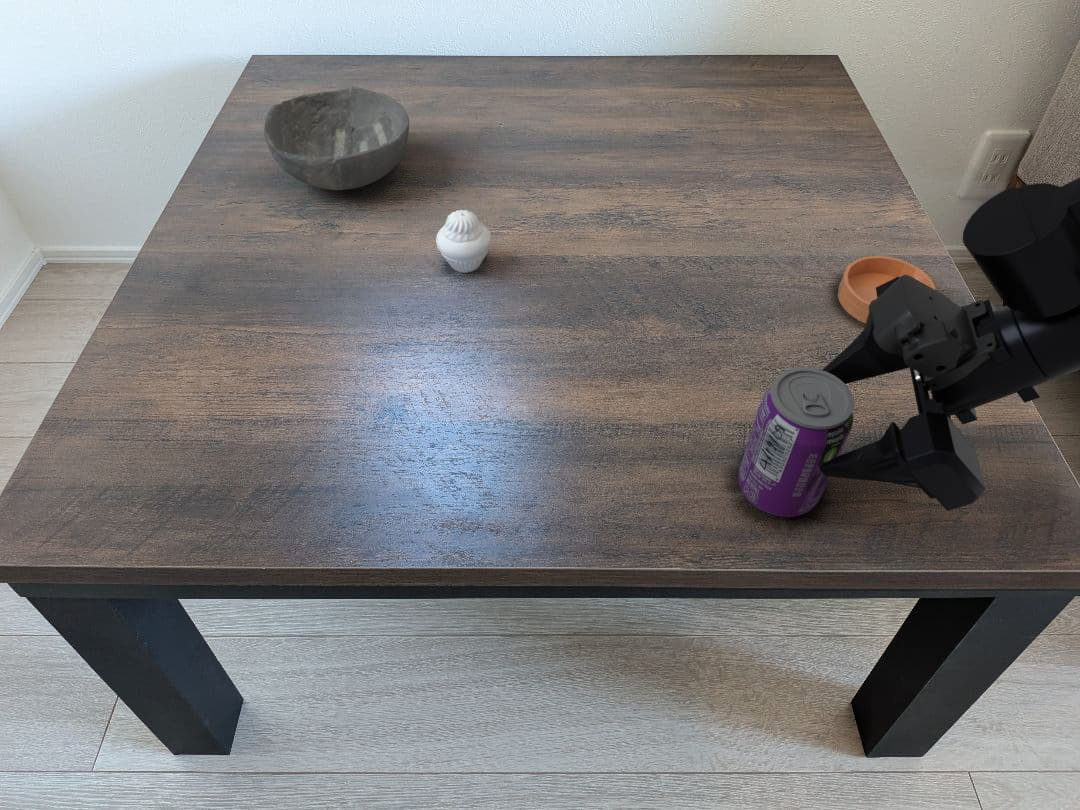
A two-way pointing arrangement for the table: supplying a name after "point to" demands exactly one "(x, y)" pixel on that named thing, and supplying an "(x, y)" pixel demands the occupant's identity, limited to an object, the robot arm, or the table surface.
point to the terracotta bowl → (872, 282)
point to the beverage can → (795, 440)
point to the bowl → (337, 137)
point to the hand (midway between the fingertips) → (818, 425)
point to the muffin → (463, 241)
